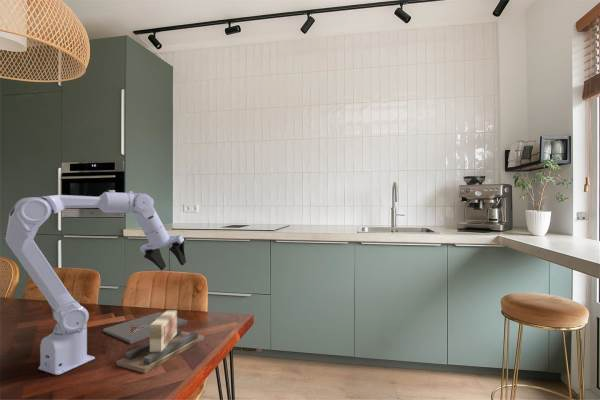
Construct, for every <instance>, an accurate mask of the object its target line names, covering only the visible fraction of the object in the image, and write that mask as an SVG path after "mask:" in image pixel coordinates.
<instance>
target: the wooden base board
mask: <svg viewBox="0 0 600 400" xmlns="http://www.w3.org/2000/svg"><path fill="white" fill-rule="evenodd" d="M205 339H206V338H205V335H202V334H199V332H195V331H192V332H187V331H182V329H180V328H177V334H176V335H175V337H174V338H173V339H172V340H171V341H170V342H169V343H168V345H167V346H166V347H165V348H164V349H163V350H162V351H161V352H150V340H149V341H146V342H145V343H143V344H141V345H139V346H137V347H135V348H132V349H130V350H128V351H126V352H125V353H124V355H125V356H124V357H123V358H121V359H120V358H119V360H116V366H118V367H122V368H124V369H129V370H132V371H136V372H138V373H139V372H140V373H142V374H146V373H147V372H150V371H151V370H153V369H155V368H156V367H158V366H161V365H162V364H163V363H165V362H167V361H169V360H171V359H172V358H174V357H176V356H178V355H179V354H181V353H183V352H185V351H186V350H188V349H190V348H192V347H193V346H195V345H197V344H199V343H201V342H203V341H204V340H205Z"/></svg>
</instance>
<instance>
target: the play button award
mask: <svg viewBox="0 0 600 400" xmlns="http://www.w3.org/2000/svg"><path fill="white" fill-rule="evenodd" d="M163 313H164V312H162V311H158V312H155V313H151V314H148V315H144V316H141V317H138V318H134V319H132V320H129V321H124V322H122V323H118V324H114V325H111V326H108V327H105V328H103V333H106V334H107V335H110V336H112V337H114V338H116V337H117V338H116V339H119V340H121V341H123V342H126V343H128V344H134V343H136V342H139V341H142V340H145V339H148V338H150V325H151V324H152V323H153V322H154V321H155V320H156V319H157V318H159V317H160V316H161V315H162V314H163ZM188 321H189V320H187V319H184V318H181V317H178V316H177V328H178V326H179V327H182V326H184V325H187V324H188ZM186 323H187V324H186ZM183 324H184V325H183ZM181 325H182V326H181ZM131 327H138V328H137V329H136V330H134V331H133V332H131V331H130V330H131ZM140 327H141V328H140ZM142 327H144V328H142ZM139 328H140V329H139ZM130 332H131V333H130ZM147 337H148V338H147Z"/></svg>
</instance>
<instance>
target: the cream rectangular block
mask: <svg viewBox="0 0 600 400" xmlns="http://www.w3.org/2000/svg"><path fill="white" fill-rule="evenodd" d="M162 313H163V314H162V315H161V316H160V317H159V318H157V319H156V320H155V321H154V322H153V323H152V324H151V325H150V337H149V341H150V352H161V351H162V350H163V349H164V348H165V347H166V346H167V345H168V343H169V342H170V341H171V340H172V339H173V338H174V337H175V335H176V334H177V329H178V327H177V317H178V310H177V309H174V310H173V309H172V310H171V309H167V310H166V311H164V312H162Z"/></svg>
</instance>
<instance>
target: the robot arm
mask: <svg viewBox="0 0 600 400" xmlns="http://www.w3.org/2000/svg"><path fill="white" fill-rule="evenodd" d="M154 204H155V203H154V198H153V197H151V196H150V195H149V194H147V193H144V192H138V193H136V192H134V191H131V190H130V191H129V190H128V191H127V192H116V190H115V189H112V190H111V189H108V191H104V192H103V193H101V194H100V195H99V196H91V195H88V196H87V195H68V194H56V195H55V194H54V195H46V196H45V195H43V196H37V197H36V196H35V197H34V196H33V197H23V198H21V199H20V200H17V201H16V202H15V204H14V205H13V207H12V208H11V210H10V211H9V214H8V221H7V229H6V235H5V242H6V244H7V246H8V247H9V248H10V250H11V251H12V252H13V254H14V256H15V257H16V258H17V260H18V261H19V263H20V264H21V266H22V267H23V268H24V270H25V271H26V273H27V274H28V275H29V277H30V278H31V280H32V281H33V282H34V284H35V285H36V287H37V288H38V289H39V291H40V293H42V295H43V296H44V298H45V299H46V301H47V302H48V304H49V306H50V307H51V310H52V318H53V319H54V320H55V322H56V324H55V326H54V328H53V329H52V330H53V332H51V333H50V334H49V335H47V336H45V337H43V338H42V339H41V340H40V341H41V342H40V346H39V349H40V351H39V353H40V354H39V355H40V356H39V361H40V362H39V364H40V365H39V366H38V368H37V369H38V370H40V371H44V372H46V373H50V374H52V375H55V376H58V375H59V376H60V375H61V374H65V373H67V372H68V371H70V370H72V369H73V370H74V369H75V368H78V367H80V366H82V365H84V364H86V363H89V362H91V361H93V360H95V359H96V357H95V356H93V355H89V354H88V353H87V352H88V324H87V323H88V321H89V317H90V314H89V311H88V310H87V309H86V308H85V307H84V306H82V305H81V304H80V302H79V301H78V300H75V299H74V297H73V296H72V295H71V293H70V292H69V291H68V289H67V288H66V287H65V285H64V283H63V282H62V280H61V279H60V278H59V276H58V275H57V273H56V272H55V270H54V269H53V267H52V266H51V264H50V263H49V261H48V260H47V258H46V257H45V255H44V254H43V252H42V251H41V249H40V248H39V247H38V245H37V243H36V242H35V240H34V239H35V236H36V234H37V232H38V231H39V229H40V227H41V226H42V225H43V224H44V223H45V222H46V221H47V220H48V219H49V217H50V216H51V214H57V213H59V212H61V211H63V210H65V209H99V210H101V212H103V213H107V214H108V213H110V214H111V213H114V214H115V213H118V214H119V213H121V214H122V213H133V214H134V216H135V218H136V219H137V223H138V224H139V226H140V228H141V230H142V231H143V234H144V235H145V237H146V240H147V241H148V243H146V244H143V245H141V247H139V249H140V252H141V253H142V254H144V253H145V254H144V259H147V260H148V261H150V262H152V263H153V264H154V265H156V267H158V268H159V270H160V271H163V270H165V268H166V267H167V265H166V262H165V260H164V258H163V257H162V254H161V250H160V248H165V247H169V246H170V248H169V251H170V252H171V253H172V254H173V255H174V257H175V258H176V259H177V262H178V263H179V264H180V266H184V265H185V263H187V259H186V254H185V239H184V236H183V234H177V235H169V234H168V232H167V230H166V227H165V226H164V225H163V222H162V221H161V219H160V216H159V214H158V213H157V211H156V209H155V207H154Z"/></svg>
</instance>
